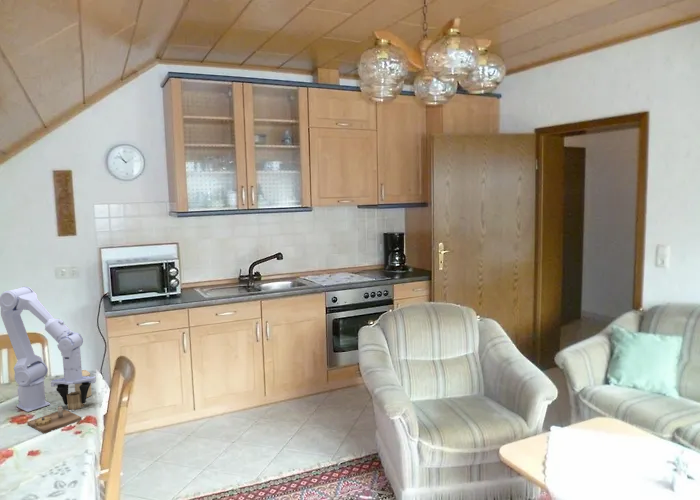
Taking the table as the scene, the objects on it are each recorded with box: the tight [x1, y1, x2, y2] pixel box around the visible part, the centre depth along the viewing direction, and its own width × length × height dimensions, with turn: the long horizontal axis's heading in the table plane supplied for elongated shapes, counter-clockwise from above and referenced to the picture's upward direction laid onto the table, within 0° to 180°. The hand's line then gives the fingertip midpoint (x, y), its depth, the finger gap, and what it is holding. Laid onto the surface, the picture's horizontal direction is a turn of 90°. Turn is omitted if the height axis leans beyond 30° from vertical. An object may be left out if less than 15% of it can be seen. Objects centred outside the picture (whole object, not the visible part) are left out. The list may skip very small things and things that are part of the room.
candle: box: [74, 369, 92, 399], centre depth 193 cm, size 6×6×10 cm
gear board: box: [26, 405, 83, 434], centre depth 171 cm, size 12×12×5 cm
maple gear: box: [66, 391, 85, 411], centre depth 183 cm, size 5×5×5 cm
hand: (75, 403), depth 183 cm, fingers closed on maple gear, 5 cm apart
